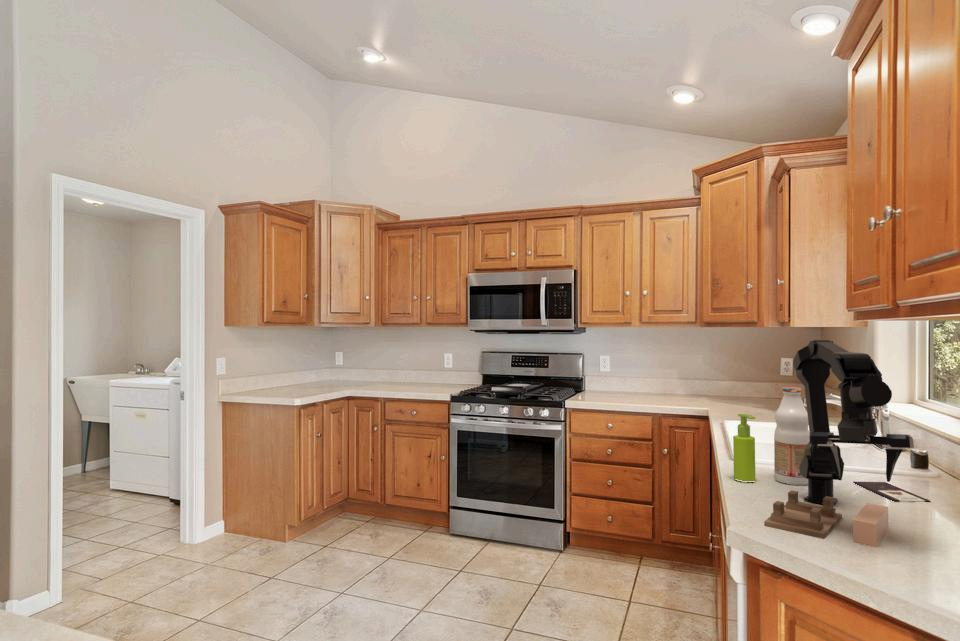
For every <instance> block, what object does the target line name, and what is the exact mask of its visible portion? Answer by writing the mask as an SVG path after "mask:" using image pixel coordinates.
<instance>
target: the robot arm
mask: <svg viewBox="0 0 960 641" xmlns="http://www.w3.org/2000/svg"><path fill="white" fill-rule="evenodd" d="M792 361H793V362H792V366H793V369H794V370H795V375H796V377H797V379H798V380H799V382H801V384H802V385H803V387H804V396H805V404H806V411H807V414H808V423H809V425H808V431H809V433H810V436H809V439H810V441H809V443H808V445H807V446H806V448H805V456H804V457H803V460H802V462H801V464H800V466H799V469H800V475H802V476H803V477H804V478H806V479H808V484H807V490H808V491H807V493H808V494H807V496H805V497H804V498H803V500H804V501H805V502H811V503H815V504H819V505H820V504H822V505H823V498H824V497H826V496H828V497H833V506H834V505H835V504H836V503H837V502H838V500H839V499H838V498H837V497H834V481H842V479H843V474H844V468H845V462H844V460H843V458H842V455H841V448H840V446H839V444H856V445H857V444H862V445H863V444H864V445H883V446H885V445H886V446H887V447H888V448H885V454H886V465H885V466H886V468H885V477H886V483H890V482H891V479H892V477H893V474H894V471H895V470H894V469H895V467H896V464H897V462H898V460H899V458H900V456H901V453H907V450H908V449H914V448H915V445H914V438H913V436H911V435H910V434H901V433H899V434H898V433H897V434H896V433H894V434H893V433H886V436H877V434H878V426H877V422H876V419H875V418H873V409H872V408H877V407H883V406H886V405H887V404H889V403H890V401H891V399H892V396H893V395H892V394H893V393H892V389H891V388H890V386H889V385H888V384H887V383H886V382H885V381H883V374H882V372H881V371H880V369H879V368H878V367H877V365H876V363H875V361H874V360H873V359H872V356H870V354H868V353H865V352H854V351H848V350H847V349H845V348H843V347H841V346H840V345H838V344H835V343H834V341H833V340H830V339H813V340H811V341H809V343H808V344H807V345H806V346H804V347H803V348H800V349H798V350H797V352H796V354H795V356H794V357H793V360H792ZM831 373H832V374H833V375H834V376H835V377H836V378H837V379H838V380H839V382H840V383H839V384H838V386H837V389H838V390H839V394H840V406H841V419H840V421H839V422H838V424H837V431H838V434H834V432H831V429H830V421H829V420H830V419H829V414H828V412H829V410H828V407H827V406H828V404H827V396H826V387H825V384H826V382H827V380H828V379H829V377H830V375H831ZM867 438H869V439H867ZM836 444H838V445H836Z"/></svg>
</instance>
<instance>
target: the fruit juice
mask: <svg viewBox="0 0 960 641" xmlns="http://www.w3.org/2000/svg"><path fill="white" fill-rule="evenodd" d="M802 391H803V390H802V388H801V387H796V386H795V387H794V386H783V387H782V393H783V396H782V399H781V401H780V404H779V406H778V408H777V409H776V411H775V413H774V419H775V423H776V427H775V429H774V438H773V439H774V445H773V447H774V450H773V451H774V452H773V453H774V454H773V455H774V456H773V457H774V459H773V460H774V463H773V464H774V466H773V467H774V470H773V472H774V475H773V476H774V480H776V481H777V482H780V483H782V484H785V483H786V485H790V486H791V485H792V486H808V479H806V478H804V477H803V476H802V475H800V469H799V466H800V464H801V462H802V460H803V457H804V456H805V448H806V446H807V445H808V443H809V441H810V439H809V436H810V432H809V423H808V414H807V408H805V405H804V402H803V399H802V397H801V395H802Z"/></svg>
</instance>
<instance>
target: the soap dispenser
mask: <svg viewBox="0 0 960 641" xmlns="http://www.w3.org/2000/svg"><path fill="white" fill-rule="evenodd" d="M737 416H738V417H740V423H739V424H737V434H736V435H733V438H732V439H733V440H732V442H733V444H732V447H733V479H734V478H735V479H738V480H742V481H755V482H756V439H755V438H756V437H754V436H751V425H749V424H748V423H747V422H748V420H747V419H749V420H753V419H756V416H754V415H752V414H748V413H738V414H737Z"/></svg>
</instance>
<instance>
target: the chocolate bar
mask: <svg viewBox="0 0 960 641" xmlns="http://www.w3.org/2000/svg"><path fill="white" fill-rule="evenodd" d="M853 483H855V484H854V485H856V484H857V485H856V486H858V485H859V486H858V487H860V486H861V487H860V488H862V487H863V489H864V488H865V490H866V491H869V492H871V491H872V492H871V493H873V492H874V494H875V493H876V494H875V495H878V496H880V497H882V498H884V497H885V498H884V499H886V498H887V500H889V501H891V500H892V501H891V502H893V501H894V502H893V503H915V502H930V503H931V500H929V499H927V498H925V497H922V496H919V495H917V494H915V493H912V492H910V491H908V490H906V489H902V488H901V487H898V486H895V485H894V484H891V483H890V482H887V481H853Z"/></svg>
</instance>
